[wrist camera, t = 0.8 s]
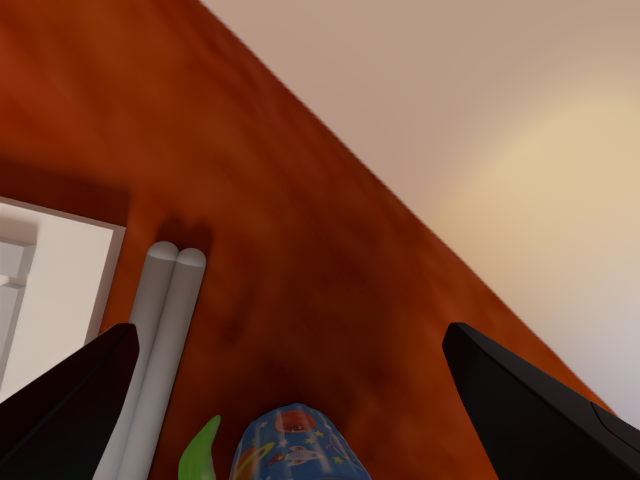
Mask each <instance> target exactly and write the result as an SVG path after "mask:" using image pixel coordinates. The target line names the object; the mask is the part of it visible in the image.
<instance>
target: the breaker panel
mask: <svg viewBox="0 0 640 480" xmlns="http://www.w3.org/2000/svg"><path fill="white" fill-rule="evenodd" d="M125 230H126V227H122V226H118V225H114V224H110V223H106V222H102V221H98V220H94V219H90V218H86V217H82V216H78V215H74V214H70V213H66V212H62V211H58V210H54V209H50V208H46V207H41V206H37V205H33V204H29V203H25V202H21V201H17V200H13V199H9V198H5V197H1V196H0V403H1V402H3V401H4V400H6V399H7V398H8V397H10V396H11V395H13V394H14V393H16V392H17V391H19V390H20V389H22V388H23V387H25V386H26V385H27V384H29V383H30V382H32V381H33V380H35V379H36V378H38V377H39V376H41V375H42V374H44V373H45V372H47V371H48V370H49V369H51V368H52V367H54V366H55V365H57V364H58V363H60V362H61V361H63V360H64V359H66V358H67V357H68V356H70V355H71V354H73V353H74V352H76V351H77V350H79V349H80V348H82V347H83V346H85V345H86V344H87V343H89V342H90V341H92V340H93V339H95V338H96V337H98V333H99V330H100V326H101V322H102V318H103V314H104V310H105V307H106V303H107V299H108V295H109V291H110V288H111V284H112V280H113V276H114V272H115V268H116V265H117V261H118V257H119V253H120V249H121V246H122V242H123V238H124V234H125Z"/></svg>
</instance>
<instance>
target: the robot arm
mask: <svg viewBox="0 0 640 480" xmlns="http://www.w3.org/2000/svg"><path fill="white" fill-rule="evenodd" d="M442 348H443V352H444V355H445V358H446V360H447V363H448V366H449V369H450V371H451V374H452V377H453V380H454V382H455V385H456V388H457V391H458V393H459V396H460V398H461V400H462V403H463V405H464V407H465V409H466V411H467V413H468V415H469V417H470V420H471V422H472V424H473V426H474V428H475V430H476V432H477V434H478V436H479V439H480V441H481V443H482V445H483V447H484V449H485V451H486V453H487V455H488V458H489V460H490V462H491V464H492V466H493V468H494V470H495V472H496V474H497V476H498V479H499V480H640V430H638V429H636V428H634V427H633V426H631V425H629V424H628V423H626V422H624V421H623V420H621V419H619V418H618V417H616V416H614V415H613V414H611V413H610V412H608V411H606V410H605V409H603V408H601V407H600V406H598V405H597V404H595V403H593V402H592V401H589V400H588V399H587V398H585V397H584V396H582V395H580V394H579V393H577V392H576V391H574V390H572V389H571V388H569V387H567V386H566V385H564V384H563V383H561V382H559V381H558V380H556V379H555V378H553V377H551V376H550V375H548V374H546V373H545V372H543V371H542V370H540V369H538V368H537V367H535V366H534V365H532V364H530V363H529V362H527V361H525V360H524V359H522V358H521V357H519V356H517V355H516V354H514V353H513V352H511V351H509V350H508V349H506V348H504V347H503V346H501V345H500V344H498V343H496V342H495V341H493V340H492V339H490V338H488V337H487V336H485V335H483V334H482V333H480V332H479V331H477V330H475V329H474V328H472V327H471V326H469V325H467V324H466V323H463V322H453V323H450V324H449V326H448V329H447V331H446V334H445V337H444V339H443V343H442ZM139 352H140V345H139V339H138V334H137V328H136V326H135V324H133V323H118V324H115V325H114V326H112V327H111V328H109V329H108V330H106V331H105V332H104V333H102V334H101V335H99V336H98V337H96V338H95V339H93V340H92V341H90V342H89V343H87V344H86V345H85V346H83V347H82V348H80V349H79V350H77V351H76V352H74V353H73V354H71V355H70V356H68V357H67V358H66V359H64V360H63V361H61V362H60V363H58V364H57V365H55V366H54V367H52V368H51V369H49V370H48V371H47V372H45V373H44V374H42V375H41V376H39V377H38V378H36V379H35V380H33V381H32V382H30V383H29V384H27V385H26V386H25V387H23V388H22V389H20V390H19V391H17V392H16V393H14V394H13V395H11V396H10V397H8V398H7V399H6V400H4V401H3V402H1V403H0V480H92V479H93V477H94V475H95V472H96V470H97V468H98V465H99V463H100V461H101V458H102V456H103V454H104V451H105V449H106V447H107V445H108V442H109V440H110V438H111V435H112V433H113V431H114V428H115V426H116V424H117V421H118V419H119V416H120V414H121V411H122V408H123V405H124V402H125V399H126V396H127V392H128V389H129V386H130V383H131V380H132V376H133V373H134V370H135V367H136V363H137V360H138V357H139Z"/></svg>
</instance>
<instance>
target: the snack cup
mask: <svg viewBox="0 0 640 480" xmlns="http://www.w3.org/2000/svg"><path fill="white" fill-rule="evenodd" d="M220 421H221V417H220V416H219V415H216V416H214V417H213V418H212V419H211V420H210V421H209V422H208V423H207V424H206V425H205V426H204V427H203V428H202V429H201V430H200V432H199V433H198V434H197V435H196V436H195V437H194V439H193V440H192V441H191V442H190V444H189V445H188V446H187V448H186V450H185V451H184V453H183V454H182V457H181V459H180V462H179V471H178V480H216V475H215V472H214V467H213V460H212V455H211V446H212V443H213V441H214V438H215V435H216V432H217V430H218V427H219V424H220ZM229 480H372V479H371V478H370V476H369V474H368V472H367V471H366V470H365V468H364V467H363V465H362V464H361V462H360V461H359V460H358V458H357V457H356V455H355V454H354V453H353V451H352V450H351V449H350V447H349V445H348V444H347V442H346V441H345V439H344V438H343V437H342V435H341V434H340V433H339V431H338V430H337V429H336V427H335V426H334V424H333V423H332V422H331V421H330V420H329V419H328V418H327V417H326V416H325V415H324V414H322V413H321V412H319V411H317V410H315V409H313V408H310V407H307V406H306V405H304V404H298V403H294V404H291V405H288V406H283V407H280V408H276V409H274V410H272V411H270V412H267V413H266V414H264V415H263V416H261V417H259V418H258V419H257V420H255V421H252V422H251V423H250V425H249V426H248V428H247V429H246V430H245V432H244V434H243V437H242V439H241V440H240V442H239V445H238V447H237V450H236V452H235V455H234V459H233V463H232V468H231V472H230V477H229Z"/></svg>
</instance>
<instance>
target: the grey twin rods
mask: <svg viewBox="0 0 640 480" xmlns="http://www.w3.org/2000/svg"><path fill="white" fill-rule="evenodd" d="M205 267H206V257H205V255H204V254H203V253H202V252H201V251H200V250H198V249H196V248H187V249H184V250H182V251H181V252H180V253H179V250H178V248H177V247H176V246H175V245H174V244H172V243H170V242H167V241H161V242H157V243H155V244H153V245H152V246H151V247H150V248H149V250H148V252H147V255H146V259H145V263H144V266H143V270H142V274H141V278H140V281H139V285H138V289H137V293H136V296H135V300H134V304H133V308H132V312H131V315H130V319H129V323H133V324H135V326H136V328H137V334H138V339H139V345H140V352H139V357H138V360H137V363H136V367H135V370H134V373H133V376H132V380H131V383H130V386H129V389H128V392H127V396H126V399H125V402H124V405H123V408H122V411H121V414H120V416H119V419H118V421H117V424H116V426H115V428H114V431H113V433H112V435H111V438H110V440H109V442H108V445H107V447H106V449H105V451H104V454H103V456H102V458H101V461H100V463H99V465H98V468H97V470H96V472H95V475H94V477H93V479H92V480H147V478H148V474H149V471H150V467H151V463H152V460H153V456H154V453H155V449H156V445H157V442H158V438H159V434H160V431H161V427H162V423H163V420H164V416H165V413H166V409H167V405H168V402H169V398H170V394H171V391H172V387H173V383H174V380H175V376H176V373H177V369H178V365H179V362H180V358H181V354H182V351H183V347H184V343H185V340H186V336H187V333H188V329H189V325H190V322H191V318H192V314H193V311H194V307H195V303H196V300H197V296H198V293H199V289H200V285H201V282H202V278H203V274H204V271H205Z"/></svg>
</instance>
